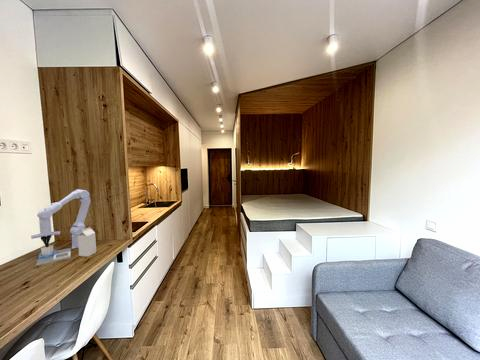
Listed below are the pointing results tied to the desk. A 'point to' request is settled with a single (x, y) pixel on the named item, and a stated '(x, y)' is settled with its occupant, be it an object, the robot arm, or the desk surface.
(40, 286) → the desk surface
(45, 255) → the blue bezel
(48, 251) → the plug
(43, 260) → the duct panel
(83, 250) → the milk carton
